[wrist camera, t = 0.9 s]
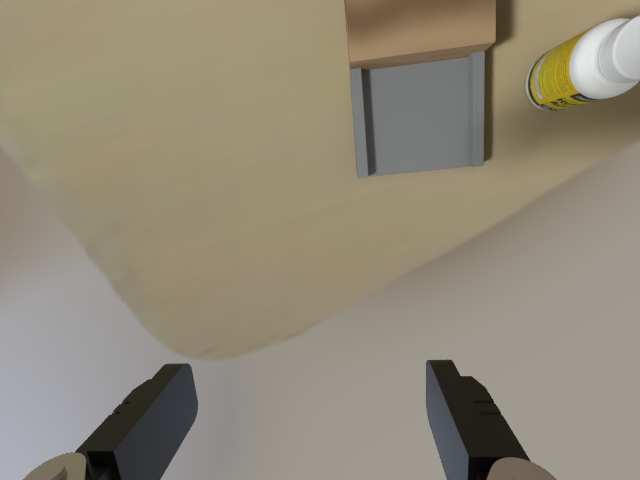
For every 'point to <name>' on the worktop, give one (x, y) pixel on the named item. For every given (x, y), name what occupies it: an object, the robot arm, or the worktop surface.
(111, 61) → the worktop surface
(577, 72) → the supplement bottle
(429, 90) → the tray
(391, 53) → the brown box
